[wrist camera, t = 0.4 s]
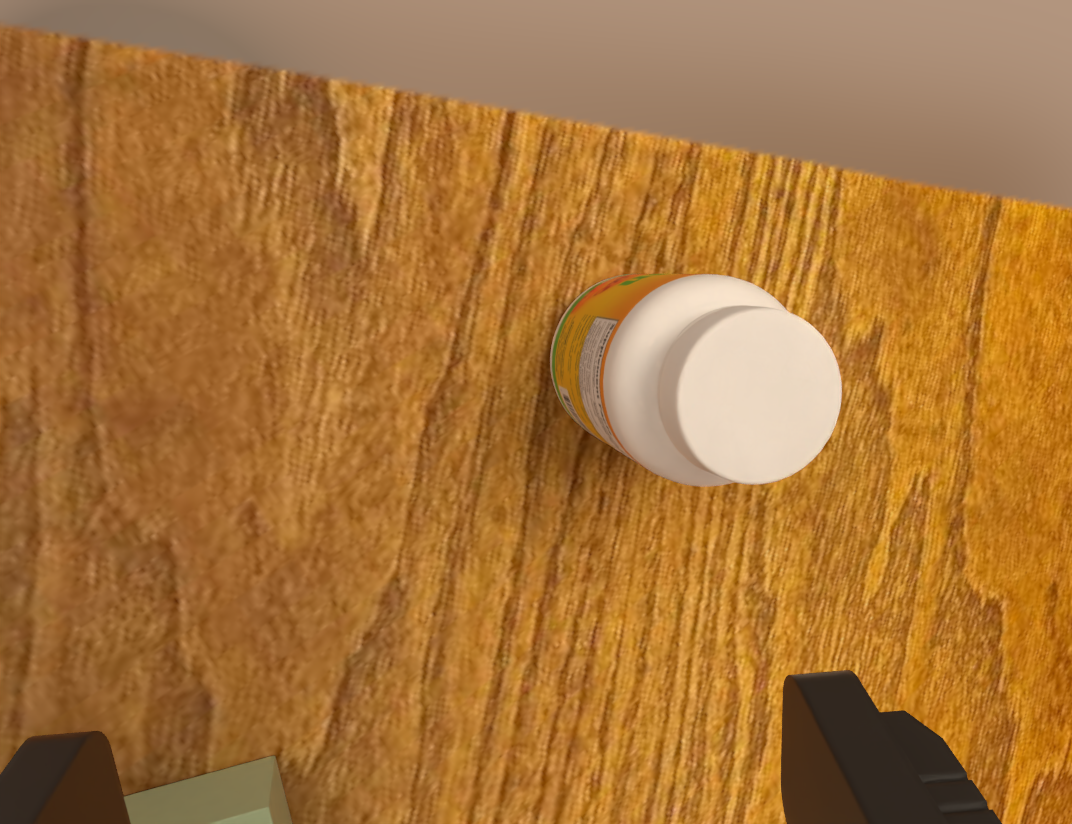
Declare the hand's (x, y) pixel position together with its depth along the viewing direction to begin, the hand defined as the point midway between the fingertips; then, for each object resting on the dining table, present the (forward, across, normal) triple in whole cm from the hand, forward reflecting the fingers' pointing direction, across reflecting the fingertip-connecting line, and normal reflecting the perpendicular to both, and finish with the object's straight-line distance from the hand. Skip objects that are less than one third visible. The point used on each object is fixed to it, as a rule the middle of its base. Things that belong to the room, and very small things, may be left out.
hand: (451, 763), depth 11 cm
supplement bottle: (+20, -5, +1) cm, 20 cm away
